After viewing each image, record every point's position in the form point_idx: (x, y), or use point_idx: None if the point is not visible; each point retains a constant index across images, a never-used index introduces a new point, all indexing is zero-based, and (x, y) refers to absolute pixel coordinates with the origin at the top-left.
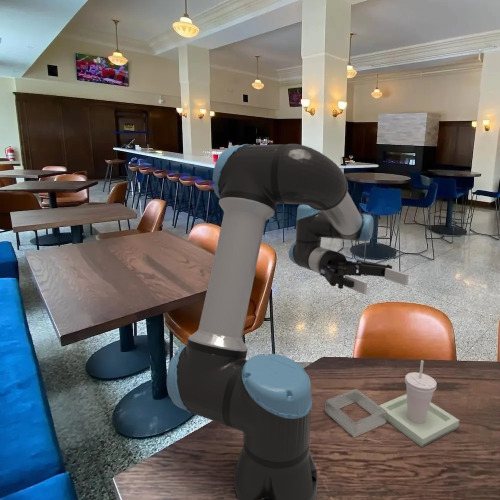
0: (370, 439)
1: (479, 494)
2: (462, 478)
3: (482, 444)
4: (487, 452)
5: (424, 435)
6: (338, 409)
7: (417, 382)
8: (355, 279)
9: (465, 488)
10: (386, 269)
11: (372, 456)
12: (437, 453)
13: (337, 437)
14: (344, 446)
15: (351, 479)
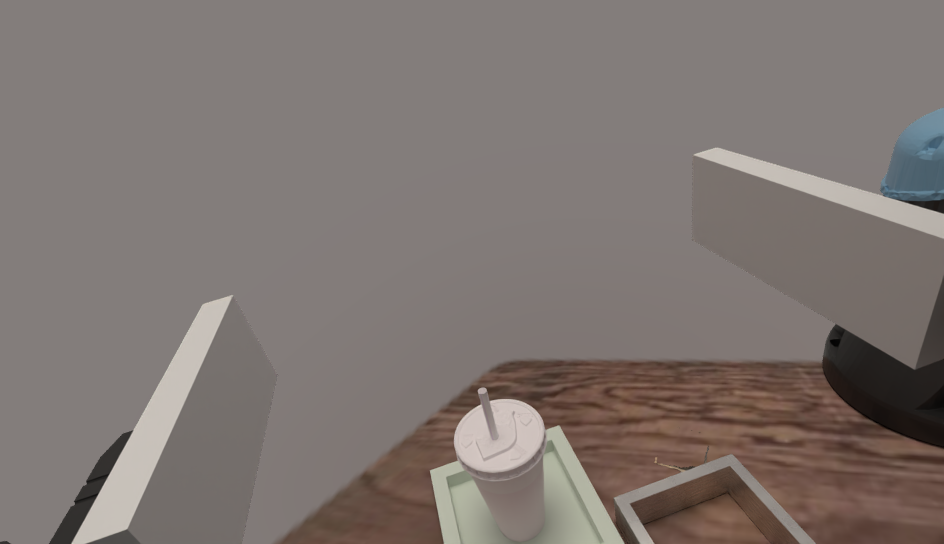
0: (681, 470)
1: (524, 360)
2: (529, 381)
3: (428, 440)
4: (438, 423)
5: (548, 434)
6: (788, 523)
7: (515, 424)
8: (806, 176)
9: (538, 368)
10: (146, 515)
11: (688, 427)
12: None
13: (781, 486)
14: (760, 456)
15: (746, 385)
